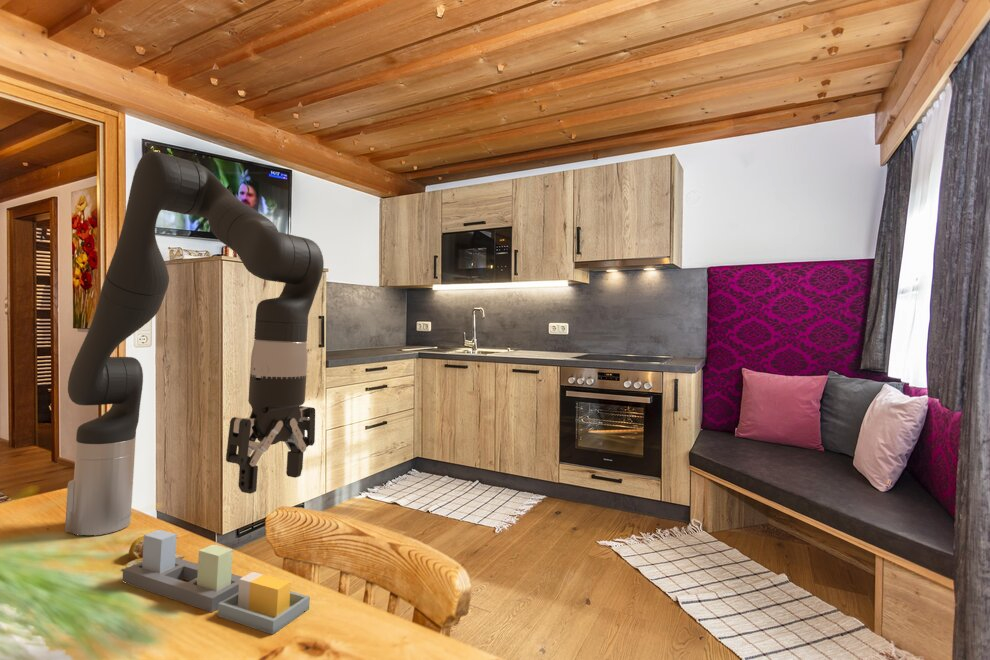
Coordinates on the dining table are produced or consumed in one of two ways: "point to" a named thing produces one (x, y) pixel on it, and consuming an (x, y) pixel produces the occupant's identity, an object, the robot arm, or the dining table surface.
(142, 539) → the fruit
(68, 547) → the dining table surface
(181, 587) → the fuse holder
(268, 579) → the block
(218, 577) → the block
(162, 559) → the block
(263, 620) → the tray
